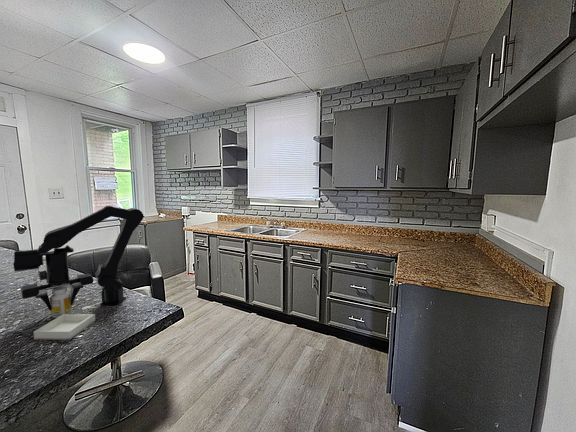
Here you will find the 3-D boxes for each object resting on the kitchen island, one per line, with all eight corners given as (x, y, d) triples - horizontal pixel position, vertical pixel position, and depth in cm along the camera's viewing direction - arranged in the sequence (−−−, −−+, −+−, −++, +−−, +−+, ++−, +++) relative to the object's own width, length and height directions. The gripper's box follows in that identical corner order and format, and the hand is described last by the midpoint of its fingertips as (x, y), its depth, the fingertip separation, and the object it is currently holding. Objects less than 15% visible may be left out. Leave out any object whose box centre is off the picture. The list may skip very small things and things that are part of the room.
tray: (95, 320, 87) (94, 314, 87) (70, 339, 77) (69, 331, 76) (64, 320, 87) (63, 314, 86) (34, 339, 76) (33, 331, 76)
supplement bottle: (69, 309, 95) (67, 284, 94) (73, 313, 92) (70, 288, 91) (50, 314, 91) (47, 288, 90) (53, 319, 88) (50, 292, 86)
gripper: (84, 256, 101) (87, 293, 103) (17, 266, 87) (21, 309, 89) (92, 261, 94) (95, 301, 96) (20, 274, 80) (24, 320, 82)
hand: (61, 307), depth 91 cm, fingers closed on supplement bottle, 5 cm apart
